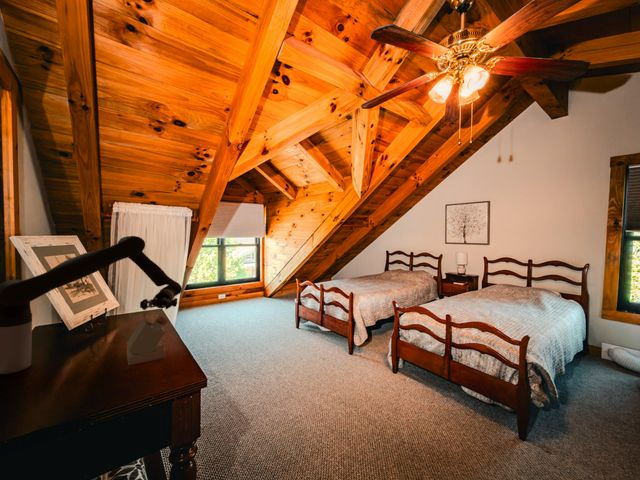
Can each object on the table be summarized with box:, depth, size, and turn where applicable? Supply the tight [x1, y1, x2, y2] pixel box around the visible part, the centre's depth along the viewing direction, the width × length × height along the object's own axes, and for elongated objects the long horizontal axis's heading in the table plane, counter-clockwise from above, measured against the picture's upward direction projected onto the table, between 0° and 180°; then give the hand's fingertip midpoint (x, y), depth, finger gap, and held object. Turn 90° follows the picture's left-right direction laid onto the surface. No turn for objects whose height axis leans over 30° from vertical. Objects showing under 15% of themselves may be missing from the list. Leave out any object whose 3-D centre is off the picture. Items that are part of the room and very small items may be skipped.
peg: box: [151, 315, 169, 330], centre depth 120 cm, size 4×4×14 cm
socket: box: [126, 319, 167, 366], centre depth 119 cm, size 13×11×15 cm
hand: (155, 307), depth 120 cm, fingers open, 8 cm apart
